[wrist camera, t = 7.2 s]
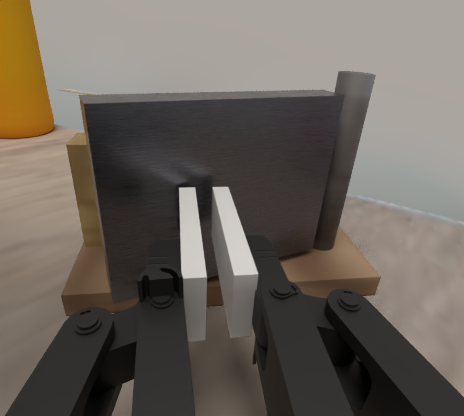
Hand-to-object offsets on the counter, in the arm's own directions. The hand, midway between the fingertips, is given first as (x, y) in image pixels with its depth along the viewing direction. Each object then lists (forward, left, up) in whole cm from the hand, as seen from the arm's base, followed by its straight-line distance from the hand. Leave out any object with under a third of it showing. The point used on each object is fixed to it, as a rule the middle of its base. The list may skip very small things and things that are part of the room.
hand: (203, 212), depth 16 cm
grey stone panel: (-1, +2, -5) cm, 5 cm away
